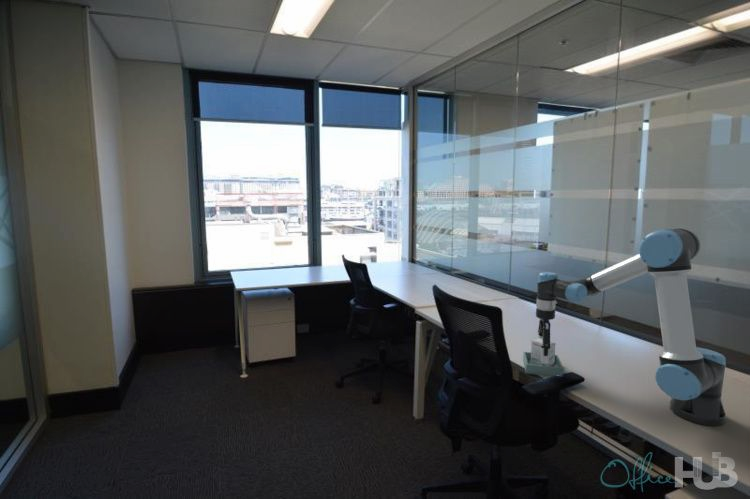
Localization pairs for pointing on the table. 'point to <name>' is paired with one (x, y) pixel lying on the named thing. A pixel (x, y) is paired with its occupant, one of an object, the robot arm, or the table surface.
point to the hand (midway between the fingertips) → (542, 356)
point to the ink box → (537, 353)
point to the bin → (542, 367)
